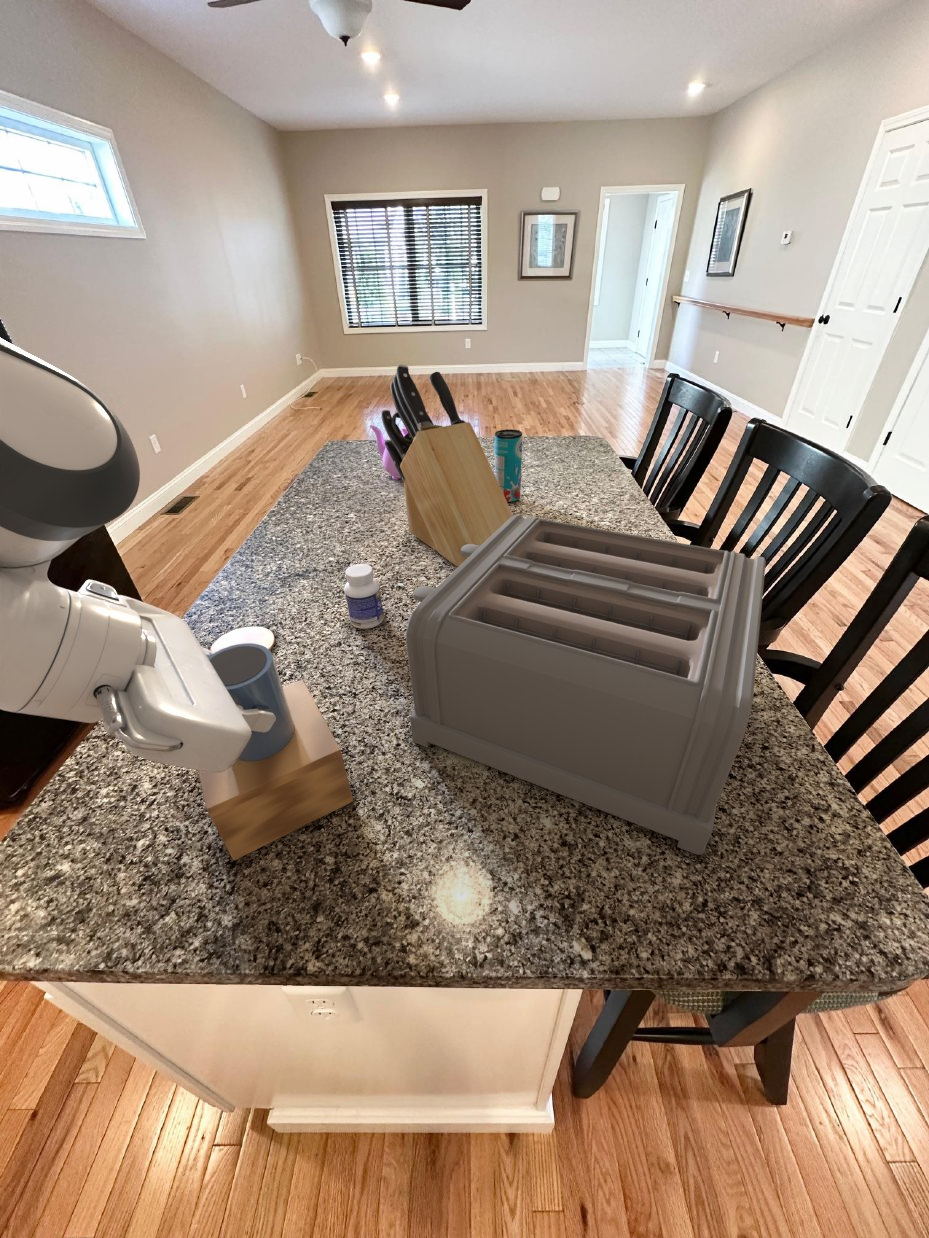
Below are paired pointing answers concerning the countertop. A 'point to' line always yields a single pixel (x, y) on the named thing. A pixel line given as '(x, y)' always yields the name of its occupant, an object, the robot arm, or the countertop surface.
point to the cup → (256, 694)
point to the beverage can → (509, 463)
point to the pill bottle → (363, 597)
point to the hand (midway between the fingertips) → (254, 696)
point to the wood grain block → (279, 783)
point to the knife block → (442, 472)
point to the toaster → (593, 667)
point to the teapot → (383, 451)
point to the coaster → (245, 638)
